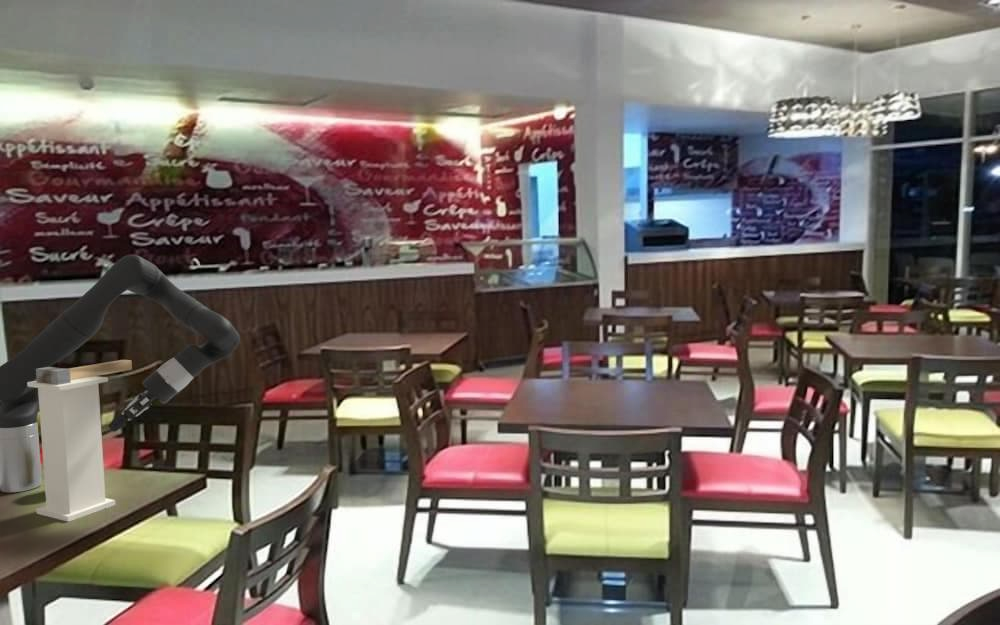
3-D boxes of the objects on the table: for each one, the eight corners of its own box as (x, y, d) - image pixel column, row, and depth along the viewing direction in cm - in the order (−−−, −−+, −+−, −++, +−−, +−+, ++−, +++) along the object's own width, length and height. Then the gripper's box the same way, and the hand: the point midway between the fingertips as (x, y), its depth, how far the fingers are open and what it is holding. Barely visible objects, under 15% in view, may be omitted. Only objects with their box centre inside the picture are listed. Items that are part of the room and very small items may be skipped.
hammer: (36, 382, 171) (35, 368, 171) (117, 368, 190) (117, 355, 190) (58, 384, 168) (57, 371, 167) (138, 370, 186) (137, 357, 186)
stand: (36, 513, 174) (27, 382, 171) (84, 497, 185) (76, 373, 182) (68, 521, 169) (59, 386, 166) (115, 504, 180) (107, 377, 177)
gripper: (157, 368, 184) (103, 413, 179) (157, 369, 171) (97, 418, 166) (179, 389, 186) (125, 435, 181) (179, 392, 173) (122, 441, 168)
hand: (112, 427), depth 173 cm, fingers open, 8 cm apart
